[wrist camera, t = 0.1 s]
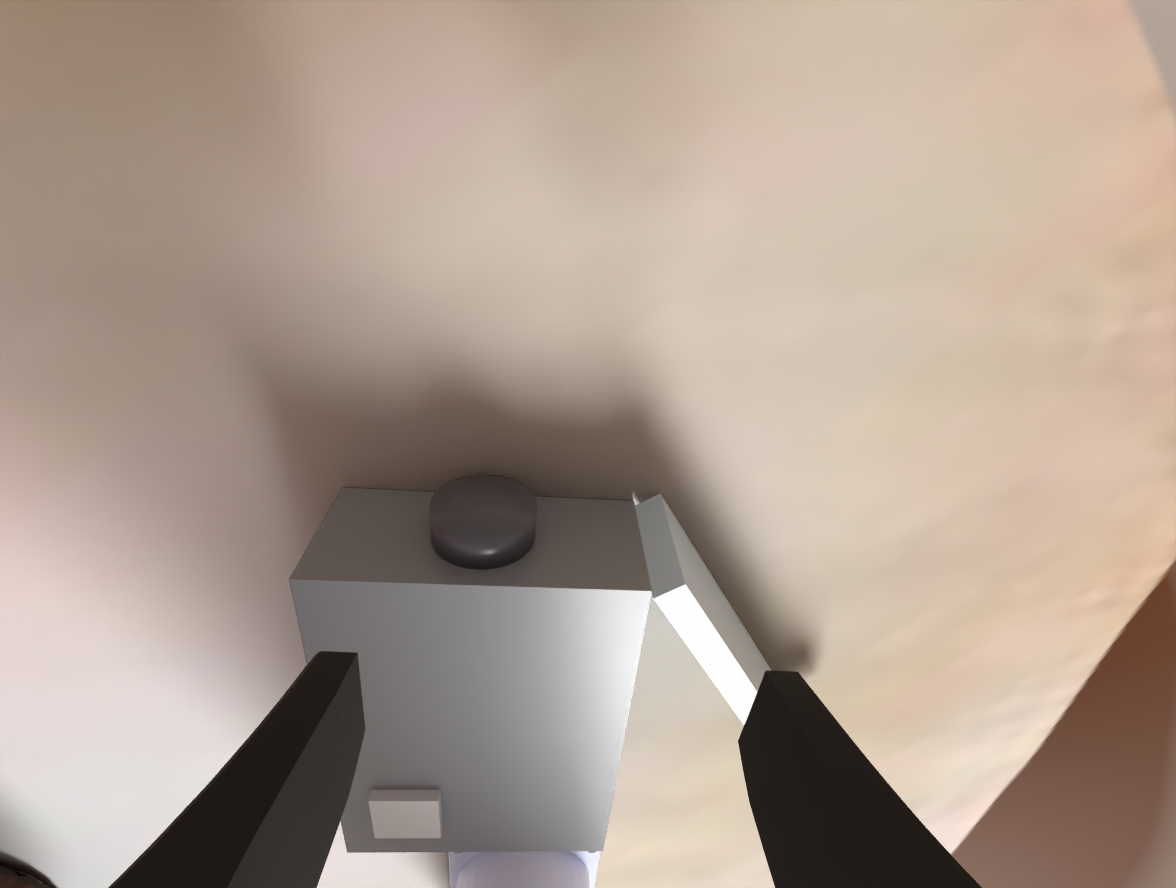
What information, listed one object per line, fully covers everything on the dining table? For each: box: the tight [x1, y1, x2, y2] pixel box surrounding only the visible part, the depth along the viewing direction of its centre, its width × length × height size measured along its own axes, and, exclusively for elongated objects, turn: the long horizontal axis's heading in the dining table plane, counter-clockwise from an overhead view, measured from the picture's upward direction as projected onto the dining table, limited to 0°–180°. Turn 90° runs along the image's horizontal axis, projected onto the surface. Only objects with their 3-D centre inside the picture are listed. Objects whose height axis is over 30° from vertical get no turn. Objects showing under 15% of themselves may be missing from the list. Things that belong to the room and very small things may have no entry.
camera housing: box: [289, 475, 652, 852], centre depth 21 cm, size 15×10×5 cm, turn 175°
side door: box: [635, 494, 772, 725], centre depth 21 cm, size 14×2×4 cm, turn 30°
